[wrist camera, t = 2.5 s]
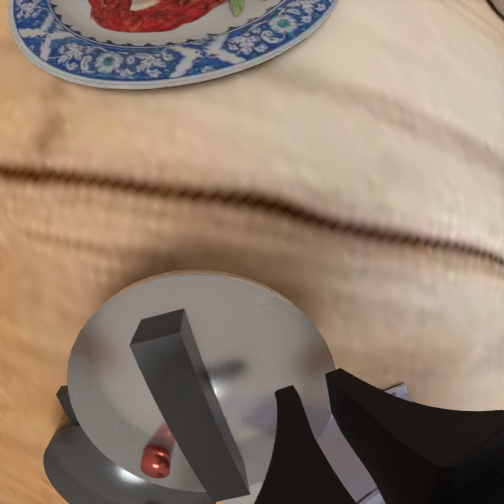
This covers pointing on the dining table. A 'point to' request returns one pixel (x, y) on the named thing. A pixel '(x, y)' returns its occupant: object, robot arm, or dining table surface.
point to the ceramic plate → (158, 37)
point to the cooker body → (99, 470)
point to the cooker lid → (196, 379)
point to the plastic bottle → (499, 6)
